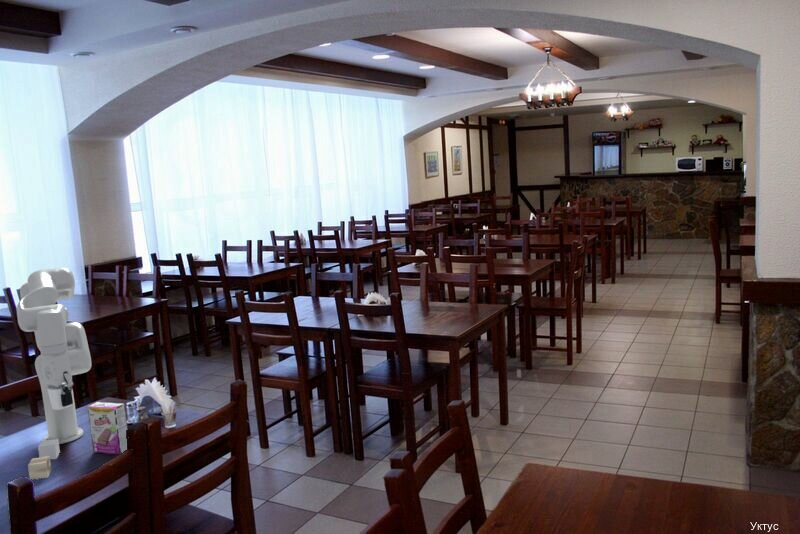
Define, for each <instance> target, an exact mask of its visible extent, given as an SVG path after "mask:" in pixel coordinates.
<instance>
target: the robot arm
mask: <svg viewBox="0 0 800 534" xmlns="http://www.w3.org/2000/svg"><path fill="white" fill-rule="evenodd" d="M75 281H76V279H75V276H74V274H73V272H72V271H71V270H70V269H69V268H66V267H57V268H46V269H39V270H35V271H33V272H31V273H30V275H29V276H28V278H27V282H25V283H24V284H22V285H21V286H20V288H19V295H20V300H19V302H18V303H17V306H16V317H17V324H18V326H19V328H20V330H22V331H23V332H29V333H30V332H33V333H34V336H35V343H36V346H37V349H38V350H39V351H40V355H38V356H37V357H36V358H35V361H34V367H35V371H36V374H37V377H38V380H39V381H38V382H39V385H40V388H41V393H42V403H43V410H44V415H45V421H46V422H45V423H46V428H47V429H46V430H47V434H46V435H45V436H44V437H43V441H47V440H53V439H58V442H59V445H61V444H66V443H70V442H73V441H76V440H78V439H80V438H81V437H82V436H83V435H84V430H83V428H81V427H79V426H78V420H77V412H76V403H75V398H74V396H75V395H74V390H73V386H74V382H73V376H76V375H81V374H84V373H85V374H86V373H87V372H89V371H90V370H91V368H92V357H91V351H90V348H89V344H88V339H87V335H86V330H85V328H84V326H83V324H81V323H80V322H78V321H77V322H76V321H74V322H68V321H69V319H70V317H69V316H70V314H69V309H68V308H67V307H66V306H65V305H63V304H60V303H57V302H59V301H67V300H70V299H72V298H73V297H74V295H75V285H76V282H75ZM63 382H66V383H65V384H62V383H63ZM50 385H52V386H55V387H60V390H61V393H62V394H61V401H62V406H63V407H65V406H68V405H71V404H72V405H71V406H70V407H68V408H65V409H60V410H55V409H52V405H51V401H50V397H49V394H48V390H47V387H48V386H50ZM66 385H67V387H65V389H64V388H63V386H66Z"/></svg>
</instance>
